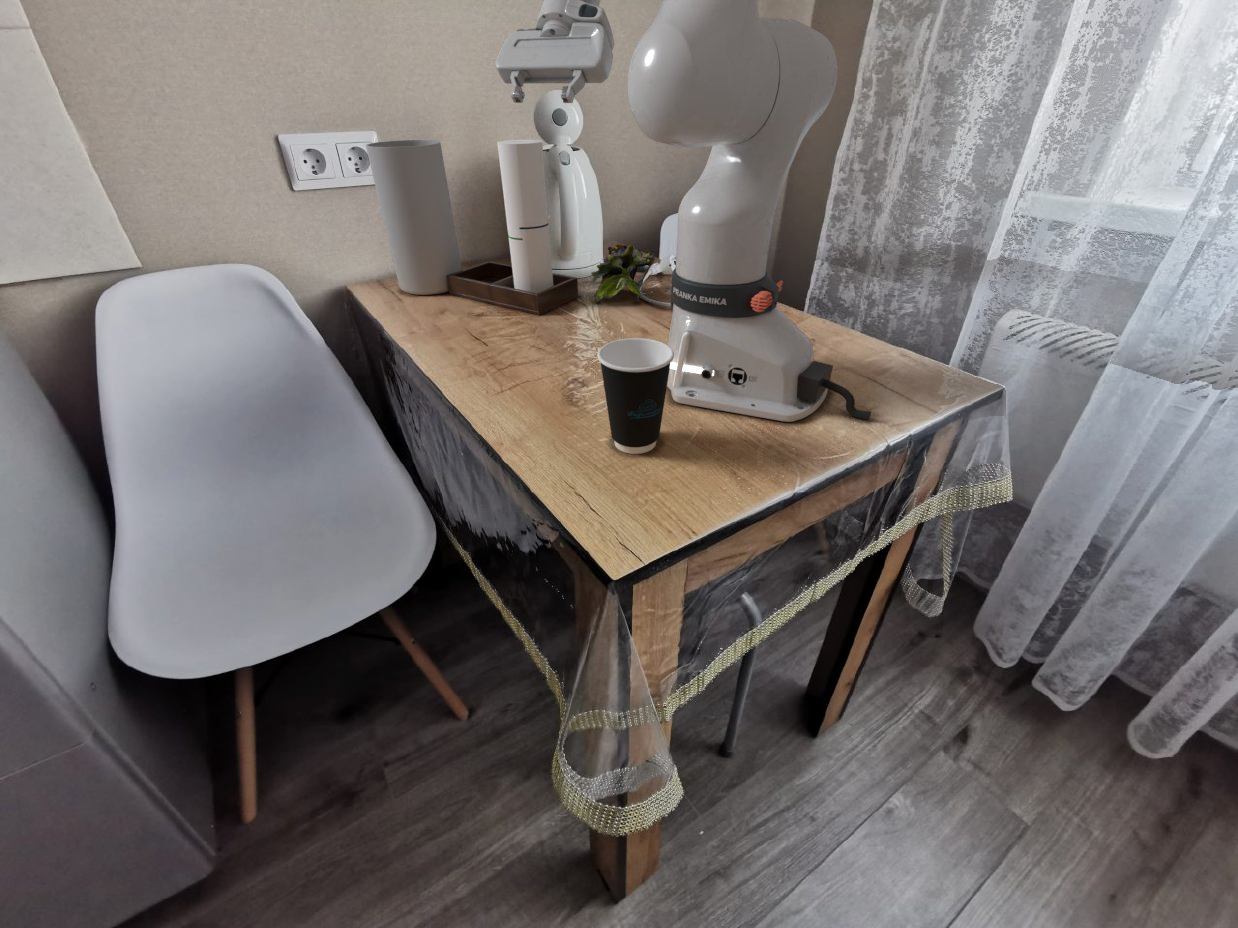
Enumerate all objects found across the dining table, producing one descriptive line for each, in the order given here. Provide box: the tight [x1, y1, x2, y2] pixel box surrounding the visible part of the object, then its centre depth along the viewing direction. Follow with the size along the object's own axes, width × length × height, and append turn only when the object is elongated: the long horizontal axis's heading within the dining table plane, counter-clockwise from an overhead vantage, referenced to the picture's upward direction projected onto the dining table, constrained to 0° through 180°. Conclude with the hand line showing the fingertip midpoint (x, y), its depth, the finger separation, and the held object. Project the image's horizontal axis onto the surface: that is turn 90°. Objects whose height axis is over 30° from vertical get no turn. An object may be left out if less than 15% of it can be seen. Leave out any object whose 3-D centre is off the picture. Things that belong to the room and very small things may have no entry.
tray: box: [446, 260, 579, 316], centre depth 106 cm, size 22×12×4 cm, turn 57°
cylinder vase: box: [365, 139, 463, 296], centre depth 105 cm, size 12×12×25 cm
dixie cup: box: [596, 337, 674, 455], centre depth 61 cm, size 8×8×11 cm
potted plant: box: [591, 243, 656, 304], centre depth 103 cm, size 11×11×12 cm
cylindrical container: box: [496, 139, 553, 293], centre depth 97 cm, size 7×7×25 cm
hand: (540, 100), depth 93 cm, fingers open, 8 cm apart
